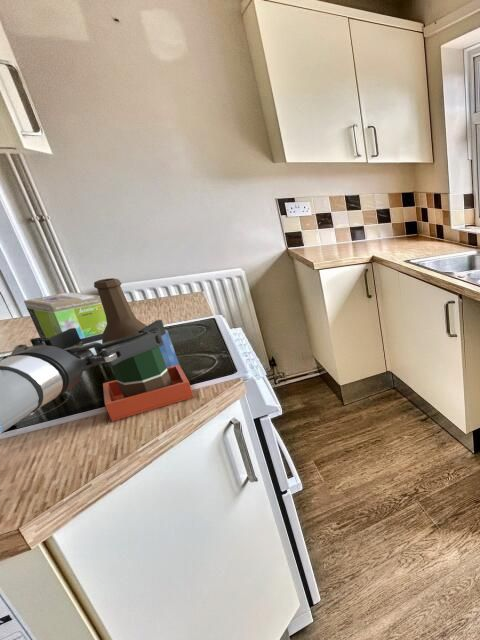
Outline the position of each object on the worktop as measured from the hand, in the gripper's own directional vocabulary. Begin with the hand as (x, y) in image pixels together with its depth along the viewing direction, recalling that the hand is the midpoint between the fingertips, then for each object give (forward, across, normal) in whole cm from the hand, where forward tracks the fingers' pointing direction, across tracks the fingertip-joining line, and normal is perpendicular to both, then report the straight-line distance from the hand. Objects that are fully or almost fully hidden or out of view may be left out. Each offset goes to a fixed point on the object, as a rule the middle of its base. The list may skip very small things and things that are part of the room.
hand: (119, 330), depth 79 cm
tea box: (+39, -32, -15) cm, 53 cm away
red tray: (+2, 0, -15) cm, 15 cm away
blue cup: (+14, -3, -15) cm, 20 cm away
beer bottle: (+2, 0, -15) cm, 15 cm away
